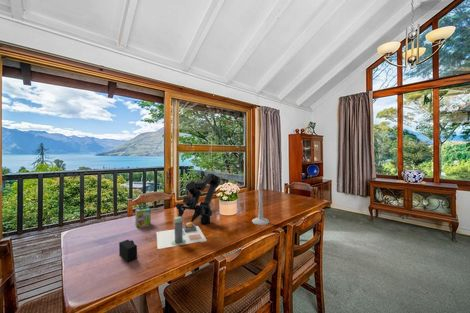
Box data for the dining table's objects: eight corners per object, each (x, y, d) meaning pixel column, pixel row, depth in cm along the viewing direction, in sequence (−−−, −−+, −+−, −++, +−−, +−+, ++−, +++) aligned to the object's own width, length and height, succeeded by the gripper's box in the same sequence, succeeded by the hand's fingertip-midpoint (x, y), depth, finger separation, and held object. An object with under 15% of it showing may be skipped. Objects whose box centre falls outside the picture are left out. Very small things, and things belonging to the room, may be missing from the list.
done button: (192, 225, 134) (192, 221, 134) (193, 227, 130) (193, 224, 130) (185, 226, 133) (185, 222, 132) (186, 228, 128) (186, 225, 128)
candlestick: (268, 219, 153) (269, 181, 152) (269, 225, 140) (270, 183, 139) (252, 218, 154) (252, 180, 153) (252, 224, 142) (252, 183, 141)
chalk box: (136, 228, 134) (136, 207, 133) (135, 224, 142) (134, 204, 141) (151, 225, 139) (151, 205, 138) (148, 221, 147) (148, 202, 146)
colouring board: (197, 226, 138) (197, 225, 138) (206, 241, 116) (206, 240, 116) (156, 232, 127) (156, 231, 127) (157, 250, 105) (157, 248, 105)
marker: (179, 239, 116) (179, 216, 116) (184, 241, 114) (184, 217, 113) (172, 242, 113) (172, 218, 112) (177, 244, 110) (177, 219, 110)
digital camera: (139, 258, 97) (139, 244, 97) (128, 263, 93) (128, 248, 93) (130, 251, 104) (130, 238, 103) (119, 255, 99) (119, 242, 99)
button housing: (193, 226, 136) (193, 223, 136) (196, 230, 130) (196, 227, 129) (183, 228, 133) (183, 225, 133) (184, 232, 127) (184, 229, 127)
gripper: (177, 190, 126) (165, 212, 116) (202, 192, 120) (193, 216, 110) (184, 199, 134) (174, 221, 124) (208, 202, 128) (200, 225, 118)
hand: (184, 220), depth 119 cm, fingers open, 9 cm apart
